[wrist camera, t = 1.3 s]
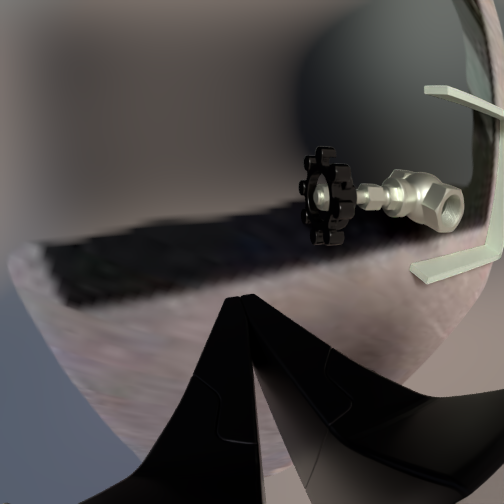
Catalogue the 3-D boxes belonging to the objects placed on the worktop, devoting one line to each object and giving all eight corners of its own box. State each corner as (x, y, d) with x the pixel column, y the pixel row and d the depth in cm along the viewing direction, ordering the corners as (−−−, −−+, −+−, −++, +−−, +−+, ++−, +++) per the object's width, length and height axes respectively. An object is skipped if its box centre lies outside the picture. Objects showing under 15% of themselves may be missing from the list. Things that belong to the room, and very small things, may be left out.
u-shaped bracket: (486, 249, 29) (500, 258, 26) (409, 270, 27) (426, 284, 24) (502, 114, 21) (519, 118, 18) (424, 85, 18) (447, 85, 16)
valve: (418, 154, 21) (299, 142, 19) (473, 170, 15) (344, 152, 13) (409, 221, 24) (296, 227, 22) (456, 250, 18) (333, 267, 16)
